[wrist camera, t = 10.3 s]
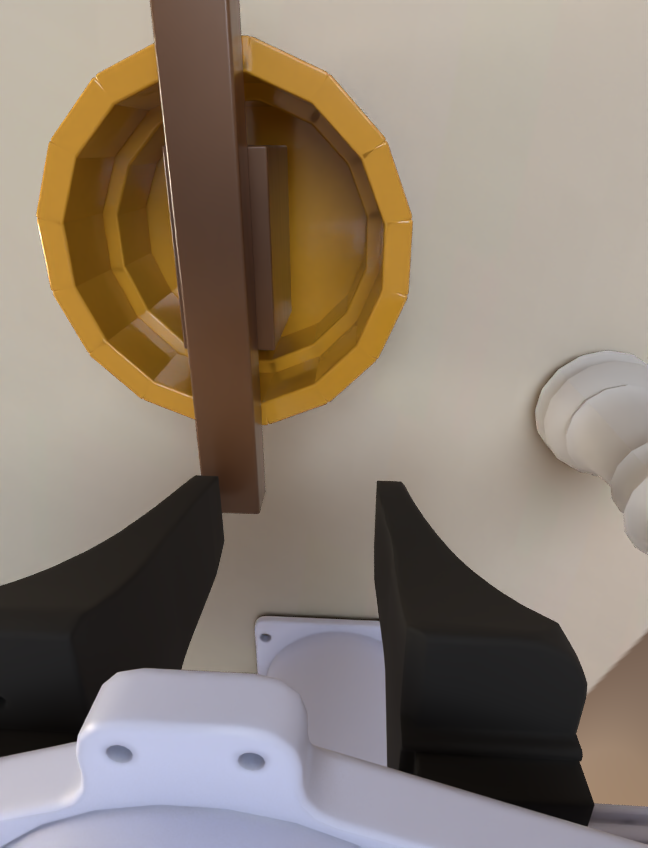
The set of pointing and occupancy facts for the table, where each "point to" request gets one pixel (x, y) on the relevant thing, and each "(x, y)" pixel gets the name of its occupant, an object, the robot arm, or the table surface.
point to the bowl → (153, 247)
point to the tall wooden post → (222, 236)
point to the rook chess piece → (603, 428)
